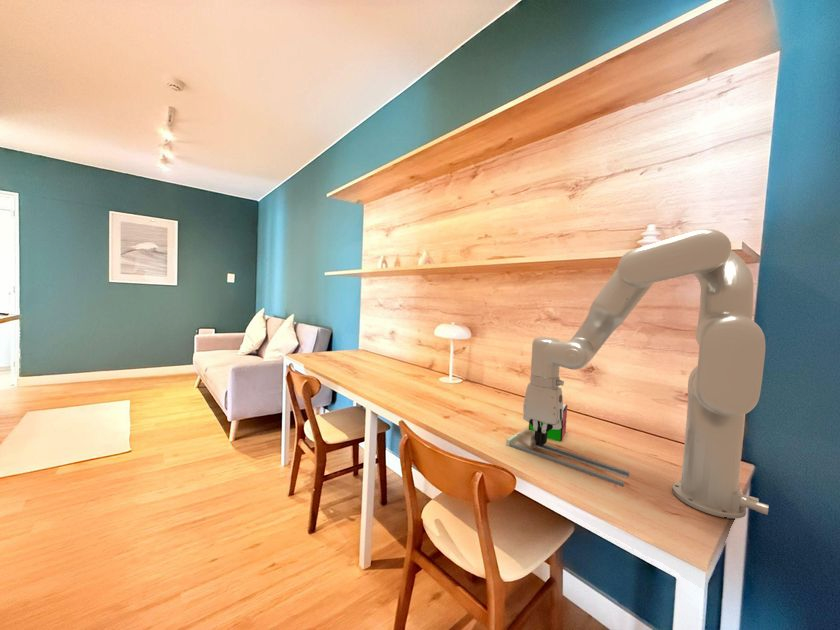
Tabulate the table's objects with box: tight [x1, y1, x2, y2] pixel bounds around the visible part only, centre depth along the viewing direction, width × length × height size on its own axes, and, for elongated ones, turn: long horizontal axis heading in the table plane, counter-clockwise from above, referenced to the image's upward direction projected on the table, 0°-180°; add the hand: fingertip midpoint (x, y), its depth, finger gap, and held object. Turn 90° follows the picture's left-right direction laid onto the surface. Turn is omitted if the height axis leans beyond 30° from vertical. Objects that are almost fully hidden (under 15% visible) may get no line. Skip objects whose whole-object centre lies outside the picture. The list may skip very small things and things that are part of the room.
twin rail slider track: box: [505, 431, 630, 487], centre depth 91 cm, size 30×9×2 cm, turn 48°
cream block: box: [516, 428, 537, 450], centre depth 98 cm, size 4×5×4 cm
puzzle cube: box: [528, 403, 568, 442], centre depth 109 cm, size 10×10×10 cm
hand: (540, 444), depth 96 cm, fingers closed
